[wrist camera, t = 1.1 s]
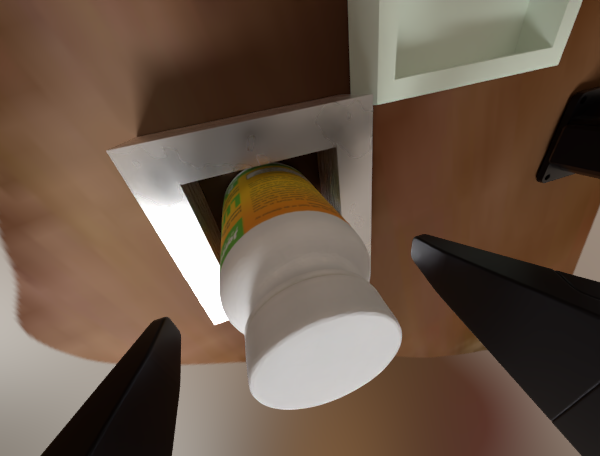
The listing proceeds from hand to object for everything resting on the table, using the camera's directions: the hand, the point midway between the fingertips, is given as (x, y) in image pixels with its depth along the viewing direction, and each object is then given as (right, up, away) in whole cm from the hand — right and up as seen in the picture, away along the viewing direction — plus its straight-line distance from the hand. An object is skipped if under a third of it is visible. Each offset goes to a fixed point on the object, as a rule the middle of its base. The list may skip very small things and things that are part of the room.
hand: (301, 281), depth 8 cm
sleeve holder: (-2, +3, +6) cm, 7 cm away
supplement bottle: (-2, +3, +6) cm, 7 cm away
